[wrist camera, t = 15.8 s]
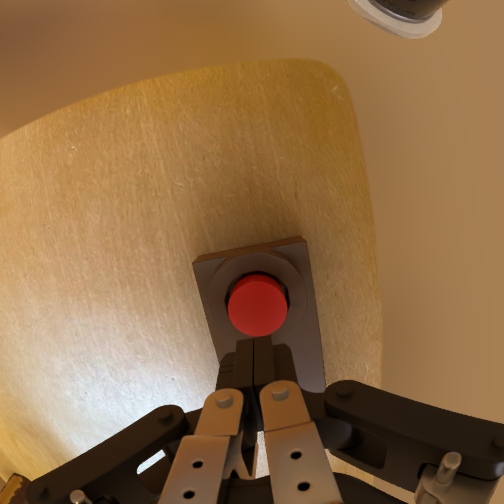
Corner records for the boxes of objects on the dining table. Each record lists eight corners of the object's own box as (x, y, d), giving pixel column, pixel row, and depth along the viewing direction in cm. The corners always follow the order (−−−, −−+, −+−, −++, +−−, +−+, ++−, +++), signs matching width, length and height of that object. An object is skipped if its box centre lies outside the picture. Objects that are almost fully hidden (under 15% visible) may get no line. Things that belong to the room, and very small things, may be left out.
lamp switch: (224, 279, 20) (221, 288, 18) (279, 269, 20) (282, 276, 18) (236, 329, 20) (235, 341, 19) (288, 319, 20) (291, 330, 19)
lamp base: (196, 253, 23) (185, 266, 19) (300, 232, 23) (310, 241, 19) (239, 409, 26) (237, 437, 22) (323, 394, 26) (332, 421, 22)
